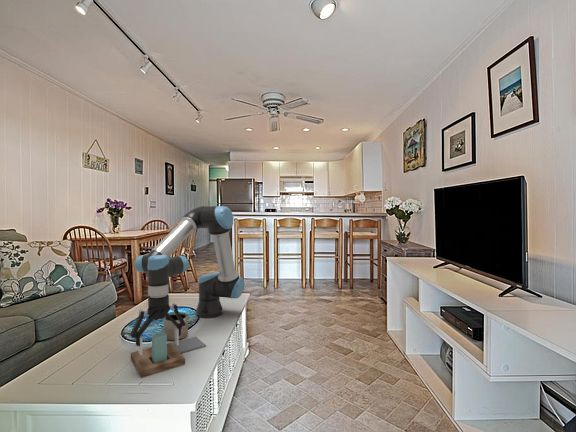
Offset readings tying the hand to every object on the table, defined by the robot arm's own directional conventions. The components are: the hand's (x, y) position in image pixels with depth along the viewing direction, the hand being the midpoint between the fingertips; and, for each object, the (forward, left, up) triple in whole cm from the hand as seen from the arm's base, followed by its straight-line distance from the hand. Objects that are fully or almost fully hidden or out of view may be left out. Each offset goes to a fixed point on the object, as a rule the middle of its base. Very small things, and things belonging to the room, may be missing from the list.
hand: (159, 348), depth 124 cm
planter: (-14, -23, -7) cm, 28 cm away
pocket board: (0, -3, -6) cm, 7 cm away
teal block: (0, 0, -6) cm, 6 cm away
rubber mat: (-15, -10, -6) cm, 19 cm away
